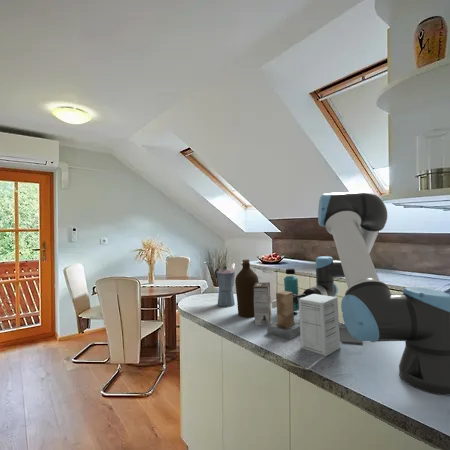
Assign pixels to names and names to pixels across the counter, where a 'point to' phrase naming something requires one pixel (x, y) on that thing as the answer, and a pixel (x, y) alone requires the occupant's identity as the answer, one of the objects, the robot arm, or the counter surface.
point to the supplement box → (319, 323)
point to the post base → (284, 330)
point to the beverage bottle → (291, 285)
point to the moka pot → (225, 286)
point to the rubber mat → (347, 337)
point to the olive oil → (245, 290)
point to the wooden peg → (285, 309)
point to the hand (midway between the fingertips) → (286, 307)
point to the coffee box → (262, 303)
